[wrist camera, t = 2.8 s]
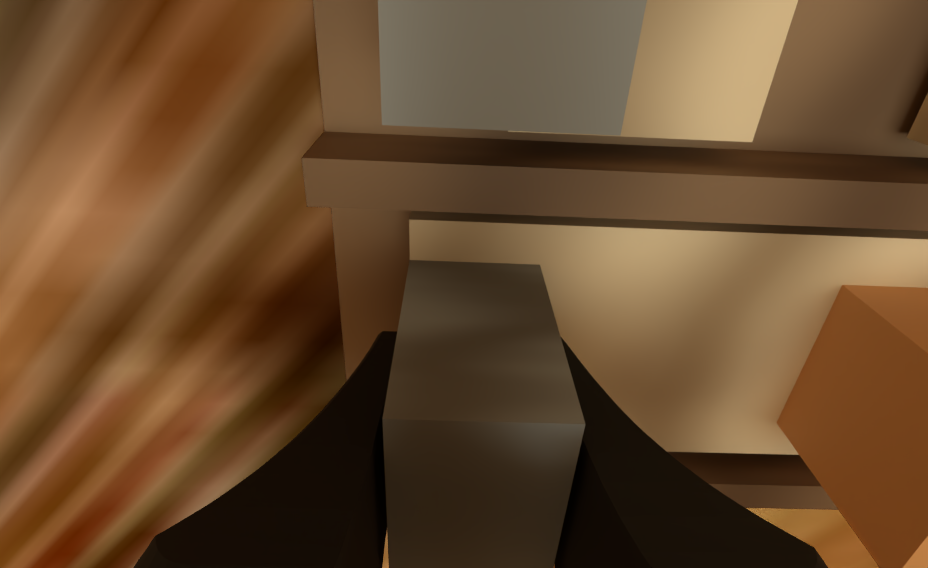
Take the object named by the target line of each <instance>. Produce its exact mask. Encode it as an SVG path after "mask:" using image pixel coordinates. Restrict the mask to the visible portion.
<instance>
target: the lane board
mask: <svg viewBox="0 0 928 568" xmlns="http://www.w3.org/2000/svg"><path fill="white" fill-rule="evenodd" d="M313 7H314V18H315V30H316V41H317V52H318V64H319V75H320V87H321V98H322V109H323V121H324V133H323V134H322V135H321V136H320V137H319V138H318V139H317V141H316V142H315V143H314V144H313V145H312V146H311V148H310V149H309V150H308V151H307V152H306V153H305V154H304V156H303V157H302V167H303V176H304V184H305V193H306V202H307V207H328V208H331V212H332V223H333V235H334V246H335V257H336V269H337V280H338V292H339V303H340V314H341V326H342V337H343V349H344V360H345V371H346V381H347V380H348V379H349V377H350V376H351V375H352V373H353V372H354V371H355V369H356V368H357V367H358V365H359V364H360V362H361V361H362V360H363V358H364V357H365V355H366V354H367V352H368V351H369V349H370V348H371V346H372V344H373V343H374V341H375V339H376V338H377V336H378V334H380V333H381V332H382V331H398V325H399V319H400V313H401V307H402V302H403V296H404V290H405V284H406V278H407V272H408V266H409V261H410V243H409V219H410V214H411V211H431V212H456V213H482V214H508V215H533V216H559V217H585V218H610V219H636V220H661V221H687V222H713V223H738V224H764V225H790V226H815V227H841V228H867V229H892V230H918V231H928V0H313ZM668 453H669V454H670V455H671V456H673V457H674V458H675V459H676V460H678V461H679V462H680V463H681V464H683V465H684V466H685V467H687V468H688V469H689V470H691V471H692V472H693V473H695V474H696V475H697V476H699V477H700V478H701V479H703V480H704V481H705V482H707V483H708V484H710V485H711V486H713V487H714V488H716V489H717V490H718V491H720V492H721V493H723V494H724V495H726V496H727V497H729V498H730V499H732V500H733V501H735V502H737V503H738V504H740V505H741V506H743V507H744V508H784V509H831V510H838V508H837V507H836V505H835V504H834V503H833V501H832V500H831V498H830V497H829V496H828V494H827V493H826V491H825V490H824V489H823V487H822V486H821V484H820V483H819V482H818V480H817V479H816V477H815V476H814V475H813V473H812V472H811V470H810V469H809V468H808V466H807V465H806V463H805V462H804V461H803V459H802V458H801V456H800V455H786V454H745V453H705V452H668Z"/></svg>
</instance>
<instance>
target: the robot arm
mask: <svg viewBox="0 0 928 568" xmlns="http://www.w3.org/2000/svg"><path fill="white" fill-rule="evenodd" d="M396 337H397V331H382V332H381V333H380V334H378V336H377V338H376V339H375V341H374V343H373V344H372V346H371V348H370V349H369V351H368V352H367V354H366V355H365V357H364V358H363V360H362V361H361V362H360V364H359V365H358V367H357V368H356V369H355V371H354V372H353V373H352V375H351V376H350V377H349V379H348V380H347V381H346V383H345V384H344V385H343V386H342V388H341V389H340V390H339V391H338V392H337V394H336V395H335V396H334V397H333V398H332V399H331V400H330V402H329V403H328V404H327V405H326V406H325V407H324V409H323V410H322V411H321V412H320V413H319V414H318V415H317V416H316V417H315V418H314V419H313V420H312V421H311V422H310V423H309V424H308V425H307V426H306V427H305V428H304V429H303V430H302V431H301V432H300V433H299V434H298V435H297V436H296V437H295V438H294V439H293V440H292V441H291V442H290V443H288V444H287V445H286V446H285V447H284V448H283V449H282V450H280V451H279V452H278V453H277V454H276V455H275V456H273V457H272V458H271V459H270V460H269V461H268V462H266V463H265V464H264V465H263V466H261V467H260V468H259V469H258V470H256V471H255V472H254V473H252V474H251V475H250V476H248V477H247V478H246V479H244V480H243V481H241V482H240V483H239V484H237V485H236V486H234V487H233V488H232V489H230V490H229V491H228V492H226V493H225V494H223V495H222V496H220V497H219V498H218V499H216V500H214V501H213V502H211V503H210V504H208V505H207V506H205V507H204V508H202V509H200V510H199V511H197V512H195V513H194V514H192V515H190V516H189V517H187V518H185V519H184V520H182V521H180V522H179V523H177V524H175V525H174V526H172V527H170V528H169V529H167V530H165V531H163V532H162V533H160V534H158V535H156V536H155V537H154V538H153V540H152V541H151V543H150V545H149V546H148V548H147V549H146V550H145V552H144V553H143V555H142V556H141V557H140V559H139V560H138V562H137V563H136V565H135V566H134V568H382V564H383V554H384V545H385V537H386V531H387V511H386V488H385V466H384V443H383V421H382V418H383V413H384V407H385V401H386V395H387V389H388V383H389V377H390V372H391V366H392V360H393V354H394V348H395V342H396ZM561 340H562V344H563V347H564V351H565V354H566V358H567V361H568V365H569V368H570V372H571V375H572V379H573V382H574V386H575V389H576V393H577V396H578V400H579V403H580V407H581V410H582V414H583V417H584V421H585V429H584V433H583V437H582V442H581V446H580V451H579V455H578V460H577V464H576V469H575V473H574V478H573V482H572V486H571V491H570V495H569V500H568V504H567V509H566V513H565V518H564V522H563V527H562V531H561V536H560V540H559V544H558V549H557V553H556V558H555V562H554V563H555V568H828V567H827V565H826V564H825V562H824V561H823V560H822V558H821V557H820V555H819V554H818V552H817V551H816V550H815V548H814V547H812V546H810V545H808V544H807V543H805V542H803V541H801V540H799V539H798V538H796V537H794V536H792V535H791V534H789V533H787V532H785V531H783V530H782V529H780V528H778V527H776V526H775V525H773V524H771V523H769V522H767V521H766V520H764V519H762V518H760V517H759V516H757V515H755V514H754V513H752V512H751V511H749V510H748V509H746V508H744V507H743V506H741V505H740V504H738V503H737V502H735V501H733V500H732V499H730V498H729V497H727V496H726V495H724V494H723V493H721V492H720V491H718V490H717V489H716V488H714V487H713V486H711V485H710V484H708V483H707V482H705V481H704V480H703V479H701V478H700V477H699V476H697V475H696V474H695V473H693V472H692V471H691V470H689V469H688V468H687V467H685V466H684V465H683V464H681V463H680V462H679V461H678V460H676V459H675V458H674V457H673V456H671V455H670V454H669V453H668V452H666V451H665V450H664V449H663V448H662V447H661V446H660V445H658V444H657V443H656V442H655V441H654V440H653V439H652V438H650V437H649V436H648V435H647V434H646V433H645V432H644V431H643V430H642V429H640V428H639V427H638V426H637V425H636V424H635V423H634V422H633V421H632V420H631V419H630V418H629V417H628V416H627V415H626V414H625V413H624V412H623V411H622V410H621V408H620V407H619V406H618V405H617V404H616V403H615V402H614V401H613V400H612V399H611V398H610V396H609V395H608V394H607V393H606V392H605V391H604V389H603V388H602V387H601V386H600V385H599V384H598V383H597V381H596V380H595V379H594V378H593V377H592V375H591V374H590V373H589V372H588V370H587V369H586V368H585V367H584V365H583V364H582V363H581V362H580V360H579V359H578V358H577V356H576V355H575V354H574V353H573V351H572V350H571V349H570V347H569V346H568V345H567V343H566V342H565V341H564V340H563V339H562V337H561Z"/></svg>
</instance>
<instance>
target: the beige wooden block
mask: <svg viewBox="0 0 928 568" xmlns="http://www.w3.org/2000/svg"><path fill="white" fill-rule="evenodd" d="M409 243H410V261H409V266H408V272H407V278H406V284H405V290H404V296H403V302H402V307H401V313H400V319H399V325H398V331H397V337H396V342H395V348H394V354H393V360H392V366H391V372H390V377H389V383H388V389H387V395H386V401H385V407H384V413H383V418H382V421H383V443H384V466H385V488H386V511H387V533H388V555H389V568H553V567H554V562H555V558H556V553H557V549H558V544H559V540H560V536H561V531H562V527H563V522H564V518H565V513H566V509H567V504H568V500H569V495H570V491H571V486H572V482H573V478H574V473H575V469H576V464H577V460H578V455H579V451H580V446H581V442H582V437H583V433H584V429H585V421H584V417H583V414H582V410H581V407H580V403H579V400H578V396H577V393H576V389H575V386H574V382H573V379H572V375H571V372H570V368H569V365H568V361H567V358H566V354H565V351H564V347H563V344H562V340H561V337H562V339H563V340H564V341H565V342H566V343H567V345H568V346H569V347H570V349H571V350H572V351H573V353H574V354H575V355H576V356H577V358H578V359H579V360H580V362H581V363H582V364H583V365H584V367H585V368H586V369H587V370H588V372H589V373H590V374H591V375H592V377H593V378H594V379H595V380H596V381H597V383H598V384H599V385H600V386H601V387H602V388H603V389H604V391H605V392H606V393H607V394H608V395H609V396H610V398H611V399H612V400H613V401H614V402H615V403H616V404H617V405H618V406H619V407H620V408H621V410H622V411H623V412H624V413H625V414H626V415H627V416H628V417H629V418H630V419H631V420H632V421H633V422H634V423H635V424H636V425H637V426H638V427H639V428H640V429H642V430H643V431H644V432H645V433H646V434H647V435H648V436H649V437H650V438H652V439H653V440H654V441H655V442H656V443H657V444H658V445H660V446H661V447H662V448H663V449H664V450H665V451H666V452H705V453H745V454H786V455H799V454H798V452H797V451H796V449H795V448H794V447H793V445H792V444H791V442H790V441H789V440H788V438H787V437H786V435H785V434H784V433H783V431H782V430H781V428H780V427H779V426H778V424H777V421H778V419H779V416H780V414H781V412H782V410H783V408H784V406H785V404H786V402H787V400H788V398H789V395H790V393H791V391H792V389H793V387H794V385H795V383H796V381H797V379H798V377H799V374H800V372H801V370H802V368H803V366H804V364H805V362H806V360H807V358H808V356H809V353H810V351H811V349H812V347H813V345H814V343H815V341H816V339H817V337H818V335H819V332H820V330H821V328H822V326H823V324H824V322H825V320H826V318H827V316H828V314H829V311H830V309H831V307H832V305H833V303H834V301H835V299H836V297H837V295H838V293H839V291H840V288H841V286H842V285H861V286H889V287H917V288H928V231H918V230H892V229H867V228H841V227H815V226H790V225H764V224H738V223H713V222H687V221H661V220H636V219H610V218H585V217H559V216H533V215H508V214H482V213H456V212H431V211H411V214H410V219H409Z"/></svg>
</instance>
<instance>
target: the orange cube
mask: <svg viewBox="0 0 928 568" xmlns="http://www.w3.org/2000/svg"><path fill="white" fill-rule="evenodd" d="M777 424H778V426H779V427H780V428H781V430H782V431H783V433H784V434H785V435H786V437H787V438H788V440H789V441H790V442H791V444H792V445H793V447H794V448H795V449H796V451H797V452H798V454H799V455H800V456H801V458H802V459H803V461H804V462H805V463H806V465H807V466H808V468H809V469H810V470H811V472H812V473H813V475H814V476H815V477H816V479H817V480H818V482H819V483H820V484H821V486H822V487H823V489H824V490H825V491H826V493H827V494H828V496H829V497H830V498H831V500H832V501H833V503H834V504H835V505H836V507H837V508H838V510H839V511H840V512H841V514H842V515H843V517H844V518H845V519H846V521H847V522H848V524H849V525H850V526H851V528H852V529H853V531H854V532H855V533H856V535H857V536H858V538H859V539H860V540H861V542H862V543H863V545H864V546H865V547H866V549H867V550H868V552H869V553H870V554H871V556H872V557H873V559H874V560H875V561H876V563H877V564H878V566H879V567H880V568H928V288H917V287H889V286H861V285H842V286H841V288H840V291H839V293H838V295H837V297H836V299H835V301H834V303H833V305H832V307H831V309H830V311H829V314H828V316H827V318H826V320H825V322H824V324H823V326H822V328H821V330H820V332H819V335H818V337H817V339H816V341H815V343H814V345H813V347H812V349H811V351H810V353H809V356H808V358H807V360H806V362H805V364H804V366H803V368H802V370H801V372H800V374H799V377H798V379H797V381H796V383H795V385H794V387H793V389H792V391H791V393H790V395H789V398H788V400H787V402H786V404H785V406H784V408H783V410H782V412H781V414H780V416H779V419H778V421H777Z"/></svg>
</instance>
